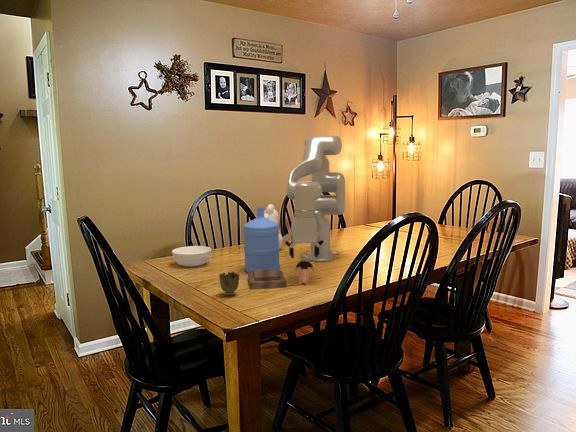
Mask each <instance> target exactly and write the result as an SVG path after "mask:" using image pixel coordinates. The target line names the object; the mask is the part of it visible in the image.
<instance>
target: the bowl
mask: <svg viewBox="0 0 576 432" xmlns="http://www.w3.org/2000/svg"><path fill="white" fill-rule="evenodd" d="M171 253H172V257H173V259H174V261H175V263H177V264H178V265H179V266H182V267H189V268H191V267H199V266H202V265H204V264H206V263H207V262H208V260H209V259H210V256H212V255H211V254H212V248H211V247H209V246H203V245H190V246H189V245H188V246H181V247H177V248H174V249H172V250H171Z"/></svg>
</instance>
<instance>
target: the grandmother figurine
mask: <svg viewBox="0 0 576 432" xmlns="http://www.w3.org/2000/svg"><path fill="white" fill-rule="evenodd" d="M308 256H309V255H308V253H306V252H301V254H300V260H301V261H298V263H297V264H296V265H295V268H294V271H295V272H297V271H298V269H299V272H298V282H297V285H309V284H310V283H309V277H310V276H309V274H310V273H309V272H310V271H309V268H310V269H311V271H313V272H314V271H315V268H314V265H313V264H312V263H311V261H308V260H309V259H308Z"/></svg>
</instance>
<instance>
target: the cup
mask: <svg viewBox="0 0 576 432" xmlns="http://www.w3.org/2000/svg"><path fill="white" fill-rule="evenodd" d="M218 277H219V284H220V288H221V290H222V291H223V292H224V294H225V296H226V297H232V296H234V295H235V291H237V289H238V288H239V283H240V282H239V281H240V273H239V272H234V271H232V272H231V271H228V272H227V273H225V272H223V273H220V274H219V275H218Z"/></svg>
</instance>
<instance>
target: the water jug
mask: <svg viewBox="0 0 576 432" xmlns="http://www.w3.org/2000/svg"><path fill="white" fill-rule="evenodd" d="M264 209H265V207H257V208H256V210H257V211H256V218H253V219H252V220H250V221H248V222H246V223H245V224H243V229H242V230H243V240H244V241H243V243H244V244H243V245H244V247H243V251H244V270H245V272H247V273H248V272H253V270H260V269H277V270H278V271H280V269H281V264H280V263H281V262H280V249H279V230H280V227H278V224H279V222H278V223H276V222H274V221H272V220H269V219H267V218H265V217H264V211H265V210H264Z"/></svg>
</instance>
